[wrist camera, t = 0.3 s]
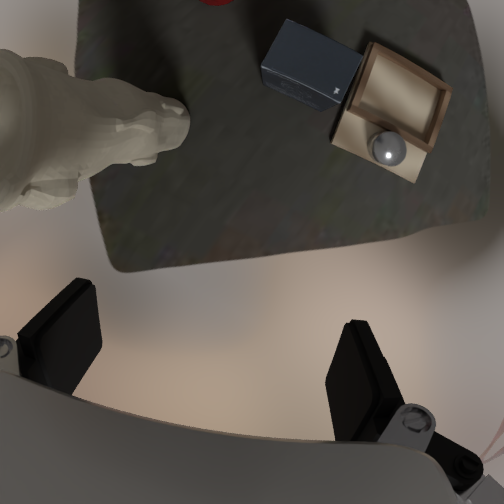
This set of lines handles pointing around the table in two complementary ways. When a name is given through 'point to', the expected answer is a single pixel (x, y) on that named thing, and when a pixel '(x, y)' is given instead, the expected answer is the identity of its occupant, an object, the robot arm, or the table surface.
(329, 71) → the box
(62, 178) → the vase
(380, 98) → the plate
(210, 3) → the plastic cup
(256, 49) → the table surface
